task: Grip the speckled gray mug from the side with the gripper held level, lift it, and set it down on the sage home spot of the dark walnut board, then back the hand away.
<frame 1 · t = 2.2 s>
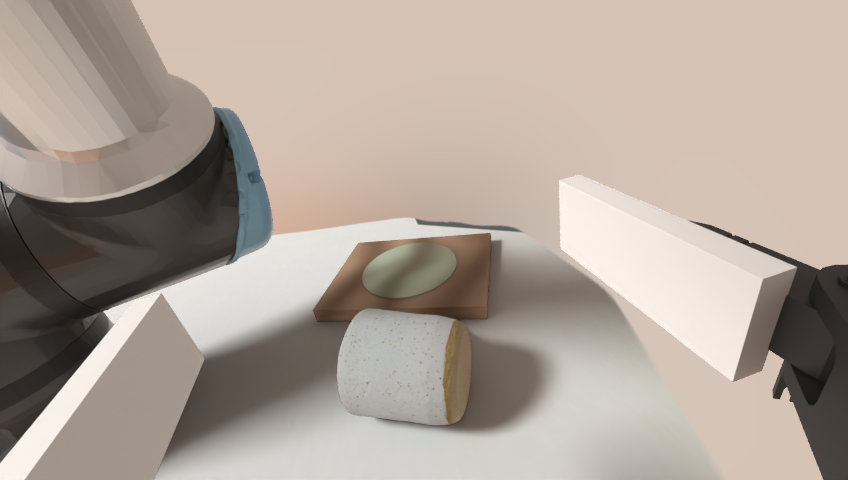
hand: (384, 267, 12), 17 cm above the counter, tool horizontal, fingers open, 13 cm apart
walnut board: (411, 278, 43), on the counter
speckled gray mug: (421, 385, 29), on the counter
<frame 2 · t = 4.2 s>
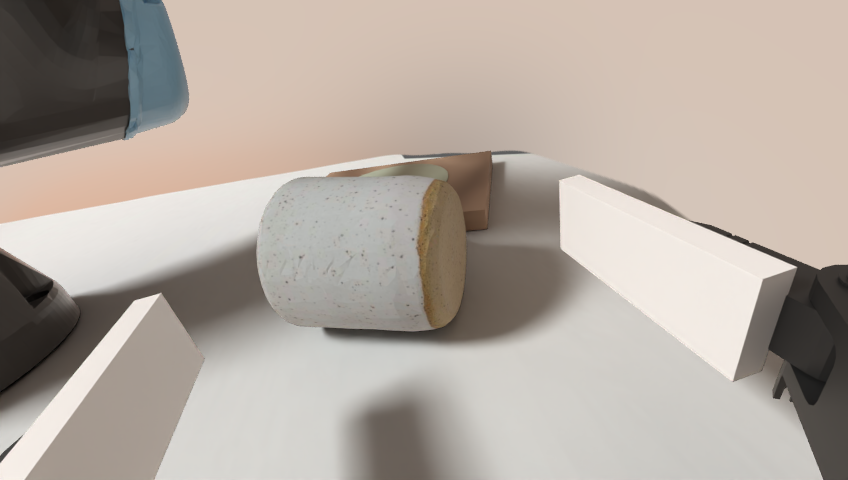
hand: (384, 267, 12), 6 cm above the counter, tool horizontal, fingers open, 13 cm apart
walnut board: (392, 201, 34), on the counter
speckled gray mug: (396, 297, 21), on the counter
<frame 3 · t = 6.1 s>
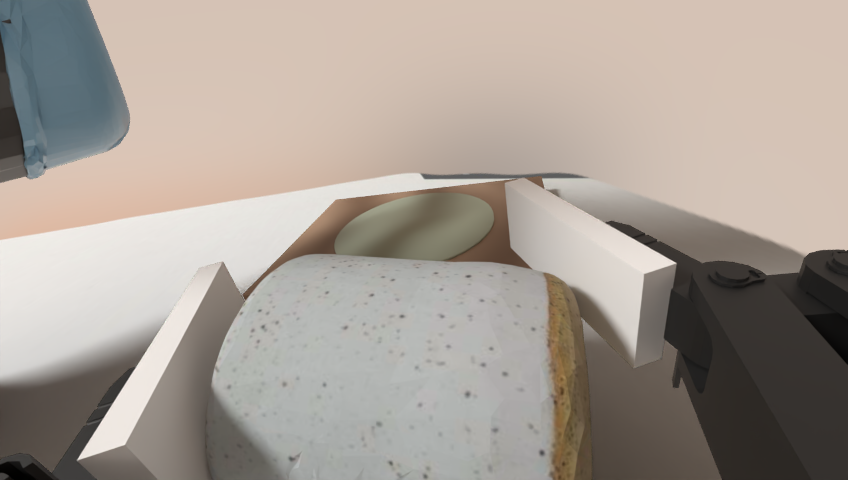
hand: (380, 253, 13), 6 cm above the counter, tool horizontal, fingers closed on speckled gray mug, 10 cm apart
walnut board: (417, 245, 26), on the counter
speckled gray mug: (444, 429, 13), on the counter, touching gripper
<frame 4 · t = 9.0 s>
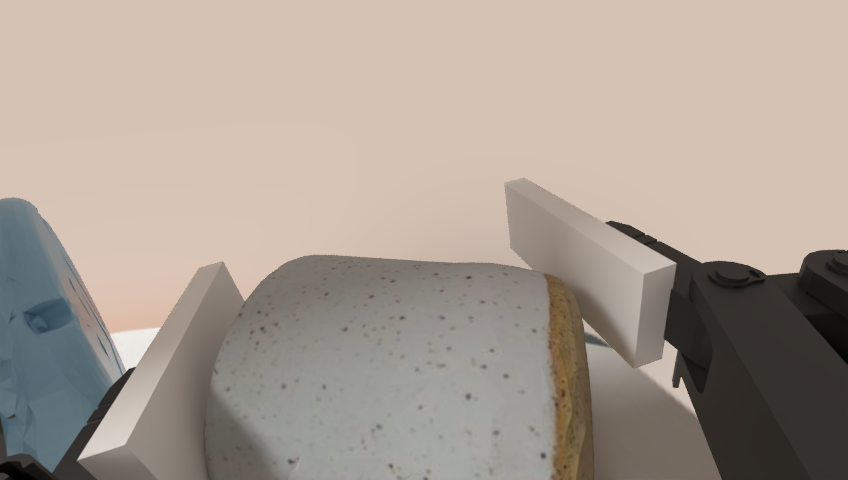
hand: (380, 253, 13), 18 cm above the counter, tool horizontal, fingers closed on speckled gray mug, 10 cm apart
speckled gray mug: (445, 431, 13), point 12 cm above the counter, touching gripper
when the fingers open (9 cm above the counter, at t = 11.9 s): speckled gray mug drops 1 cm, resting on walnut board.
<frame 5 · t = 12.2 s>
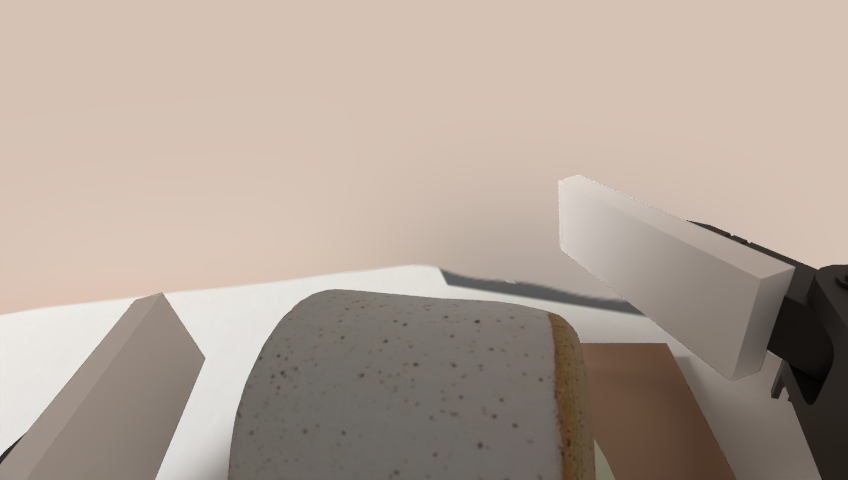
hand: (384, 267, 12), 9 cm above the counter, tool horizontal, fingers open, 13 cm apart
speckled gray mug: (451, 454, 14), point 1 cm above the counter, touching walnut board
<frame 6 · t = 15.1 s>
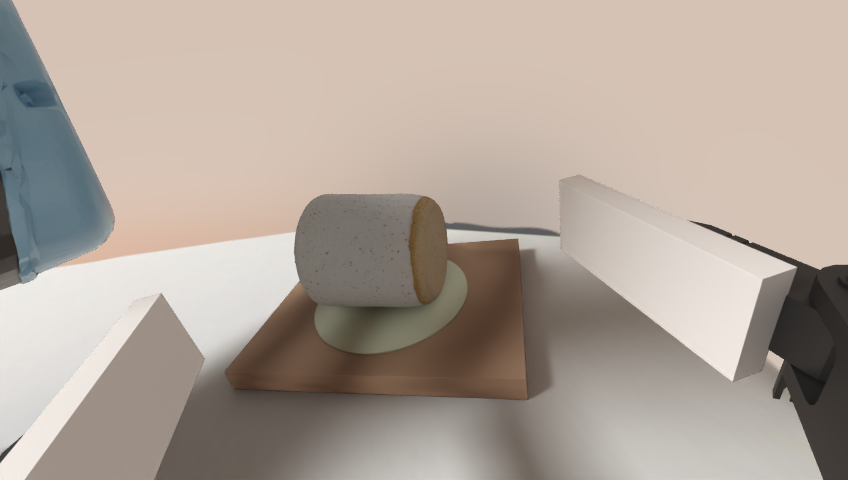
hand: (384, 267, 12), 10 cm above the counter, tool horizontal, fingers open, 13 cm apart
walnut board: (396, 312, 27), on the counter
speckled gray mug: (394, 285, 27), point 1 cm above the counter, touching walnut board
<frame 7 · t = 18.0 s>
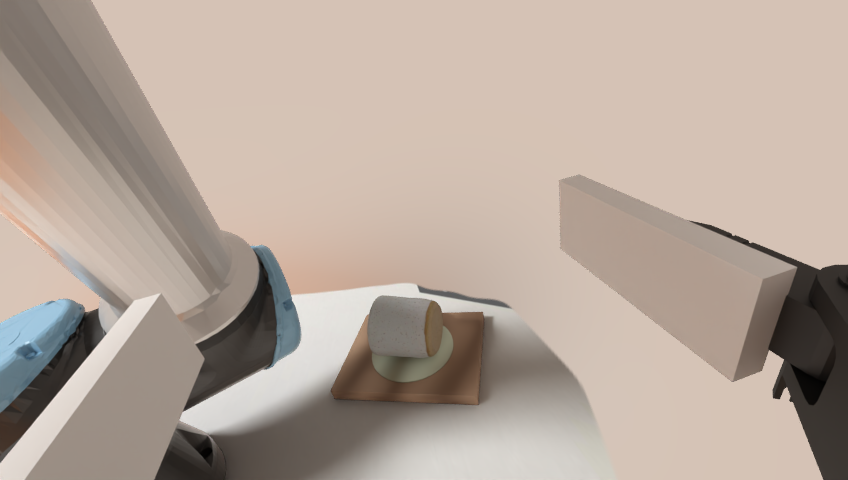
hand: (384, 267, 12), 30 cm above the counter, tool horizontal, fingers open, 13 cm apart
walnut board: (414, 356, 49), on the counter
speckled gray mug: (413, 341, 49), point 1 cm above the counter, touching walnut board
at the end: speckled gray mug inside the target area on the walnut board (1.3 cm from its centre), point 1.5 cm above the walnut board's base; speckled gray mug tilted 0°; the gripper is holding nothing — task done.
